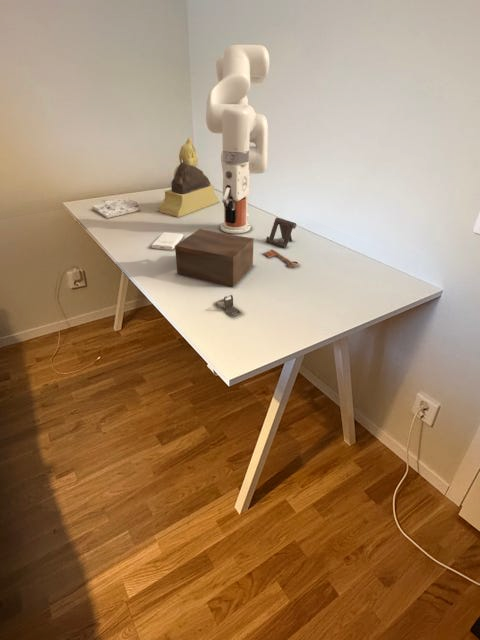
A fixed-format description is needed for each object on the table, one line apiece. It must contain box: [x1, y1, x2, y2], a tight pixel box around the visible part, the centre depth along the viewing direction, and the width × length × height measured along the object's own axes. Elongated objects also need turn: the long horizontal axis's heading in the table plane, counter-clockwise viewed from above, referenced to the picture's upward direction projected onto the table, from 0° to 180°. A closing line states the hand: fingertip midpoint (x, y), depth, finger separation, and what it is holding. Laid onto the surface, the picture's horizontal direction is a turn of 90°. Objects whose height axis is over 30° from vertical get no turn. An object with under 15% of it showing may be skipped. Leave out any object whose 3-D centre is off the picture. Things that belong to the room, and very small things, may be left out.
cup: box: [225, 197, 246, 227], centre depth 117 cm, size 6×6×8 cm
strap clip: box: [215, 294, 241, 317], centre depth 107 cm, size 8×3×4 cm, turn 37°
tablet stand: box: [265, 217, 297, 249], centre depth 146 cm, size 9×8×8 cm
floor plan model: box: [92, 197, 140, 219], centre depth 181 cm, size 19×25×2 cm
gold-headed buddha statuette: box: [157, 137, 219, 218], centre depth 175 cm, size 28×13×30 cm, turn 144°
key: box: [263, 249, 299, 268], centre depth 135 cm, size 6×1×15 cm
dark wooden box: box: [174, 228, 255, 288], centre depth 125 cm, size 16×20×10 cm
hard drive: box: [151, 231, 184, 251], centre depth 146 cm, size 2×8×12 cm
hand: (235, 218), depth 119 cm, fingers closed on cup, 6 cm apart
